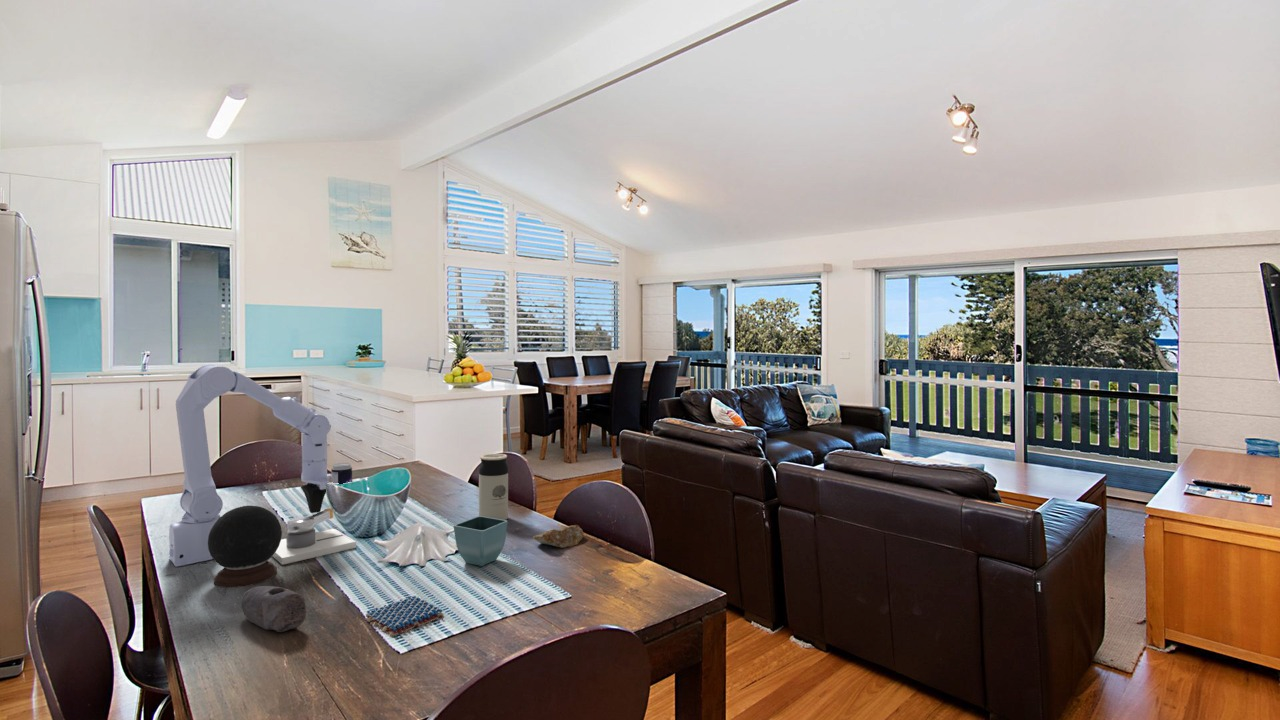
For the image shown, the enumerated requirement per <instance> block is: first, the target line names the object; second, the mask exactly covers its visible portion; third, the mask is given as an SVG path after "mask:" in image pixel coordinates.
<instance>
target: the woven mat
mask: <svg viewBox="0 0 1280 720" xmlns="http://www.w3.org/2000/svg"><path fill="white" fill-rule="evenodd" d="M443 611H444V610H443V609H441V608H440V607H439V606H436V605H435V604H432V603H431V602H428V601H427V600H426V599H422V598H421V597H419V596H417V595H413V596H412V597H411V596H407V598H405V599H400V600H399V601H397V602H391V603H390V604H388V605H386V604H385V605H383V606H382V607H380V608H378V607H376V608H375V609H374V610H373V609H372V610H371V611H370V610H367V611H366V614H365V619H364V621H366V622H368V623H369V624H370V625H373V626H375V627H377V628H380V630H381V631H383V632H385V634H386V635H388V636H390V637H391V636H392V637H394V636H396V635H400V634H401V633H405V632H407V631H409V630H412V629H414V628H417V627H419V626H422V625H425V624H427V623H430V622H433V621H435V620H437V619H440V618H443V616H444V613H443Z"/></svg>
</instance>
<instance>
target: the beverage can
mask: <svg viewBox="0 0 1280 720" xmlns="http://www.w3.org/2000/svg"><path fill="white" fill-rule="evenodd" d="M330 471H331V472H330V473H331V475H332V478H330V479H331V482H333V483H339V484H343V483H348V482H352V483H353V467H352V465H351V463H350V462H340V463H339V462H338V463H334V464H332V467H331V469H330Z"/></svg>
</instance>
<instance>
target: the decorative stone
mask: <svg viewBox="0 0 1280 720" xmlns="http://www.w3.org/2000/svg"><path fill="white" fill-rule="evenodd" d="M583 535H584V531H583V529H582V528H581V527H580V526H579V525H578V524H573V525H569V526H567V527H565V528H562V529H560V530H558V529H550V530H548V531H545V532H541V533H540V534H539V533H538V534H536V535H533V536H532V537H533V539H534V540H535V541H537V542H538V543H540V544H544V545H548V546H553V547H555V548H556V547H557V548H562V549H565V548H570V547H574V546H577V545H578V544H580V542H581V541H582V539H583V538H584V536H583Z"/></svg>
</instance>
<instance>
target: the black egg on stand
mask: <svg viewBox="0 0 1280 720" xmlns="http://www.w3.org/2000/svg"><path fill="white" fill-rule="evenodd" d="M282 535H283V532H282V526H281V524H280V521H279V519H278V517H277V516H276V515H275V514H274V513H273V512H272V511H270V510H269V509H266V508H265V507H262V506H258V505H243V506H238V507H235V508H233V509H230V510H229V511H226V512H225V513H223V514H222V515H220V518H219V519H218V520H217V521H216V522H215V524H214V525H213V527H212V528H211V530H210V533H209V536H208V549H209V552H210V555H211V557H212V558H213V559H212V560H214V562H215V563H217V564H218V565H219V566H221V567H223V568H222V569H220V570H219V571H218V572H217V574H216V575H215V576H214V578H213V579H214V580H213V583H214V585H215V586H217V587H220V588H226V589H227V588H231V589H232V588H240V587H247V586H252V585H256V584H257V585H258V584H260V583H263V582H266V581H268V580H270V579H272V578H274V577H275V576H276V575H277V572H278V569H277V568H278V567H277V566H276V565H275V564H274V563H273V562H271V561H268V560H270V559H271V558H273V554H274V553H275V552H276V550H277V549H278V547H279V544H280V541H281V539H282V538H283V537H282Z"/></svg>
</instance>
